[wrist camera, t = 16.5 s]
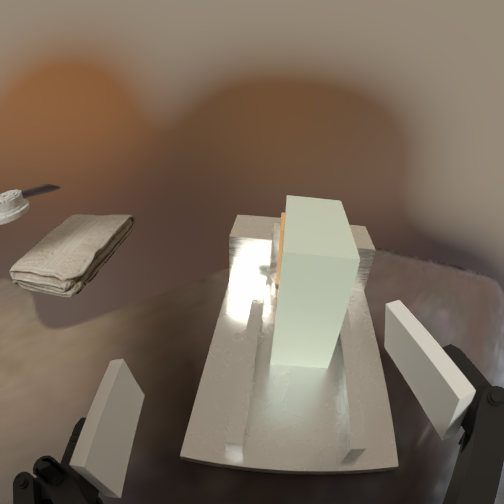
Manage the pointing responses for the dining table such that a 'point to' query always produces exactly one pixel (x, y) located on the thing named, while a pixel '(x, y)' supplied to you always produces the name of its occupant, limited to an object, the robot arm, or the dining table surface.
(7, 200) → the mechanical component
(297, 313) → the block
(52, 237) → the washcloth
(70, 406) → the dining table surface
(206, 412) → the rail plate
